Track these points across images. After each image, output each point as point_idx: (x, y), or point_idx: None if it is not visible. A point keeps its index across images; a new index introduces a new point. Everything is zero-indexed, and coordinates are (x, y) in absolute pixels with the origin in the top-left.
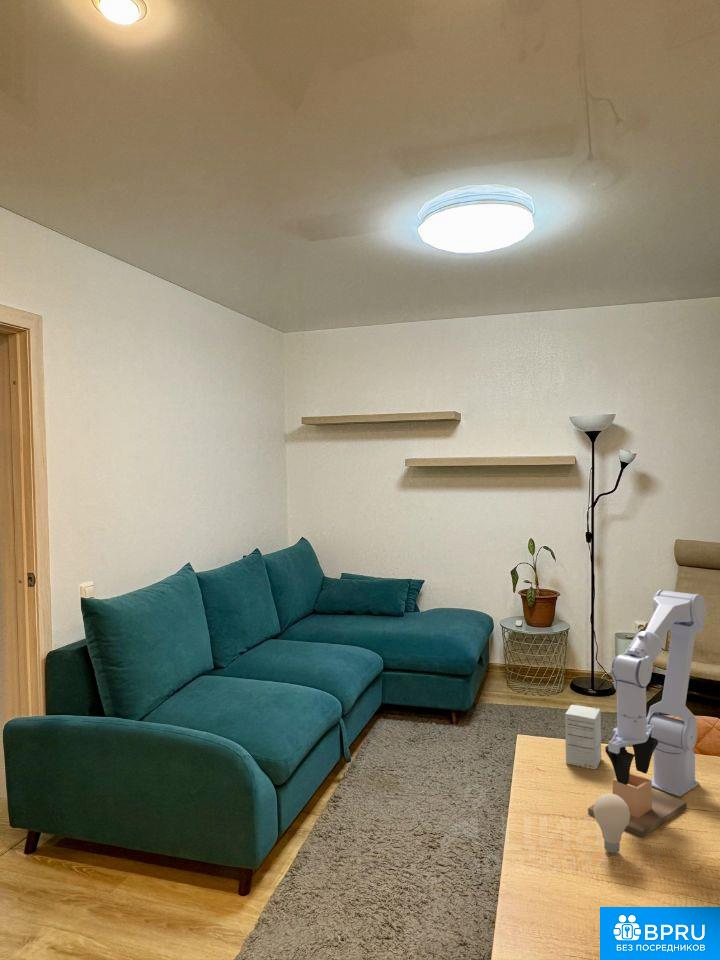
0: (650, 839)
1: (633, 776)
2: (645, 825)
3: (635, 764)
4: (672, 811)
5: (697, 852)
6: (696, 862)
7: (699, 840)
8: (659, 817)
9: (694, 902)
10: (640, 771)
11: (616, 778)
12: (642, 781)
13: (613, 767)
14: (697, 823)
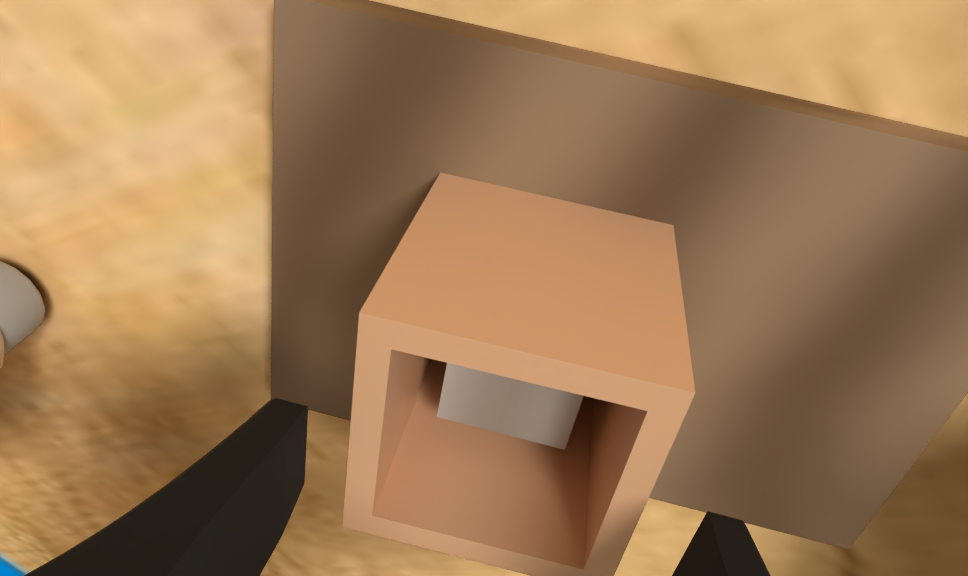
0: None
1: (626, 453)
2: None
3: (725, 560)
4: (652, 497)
5: (363, 569)
6: (282, 568)
7: (476, 572)
8: None
9: None
10: (691, 544)
11: (260, 411)
12: (596, 510)
13: (139, 504)
14: (654, 563)
